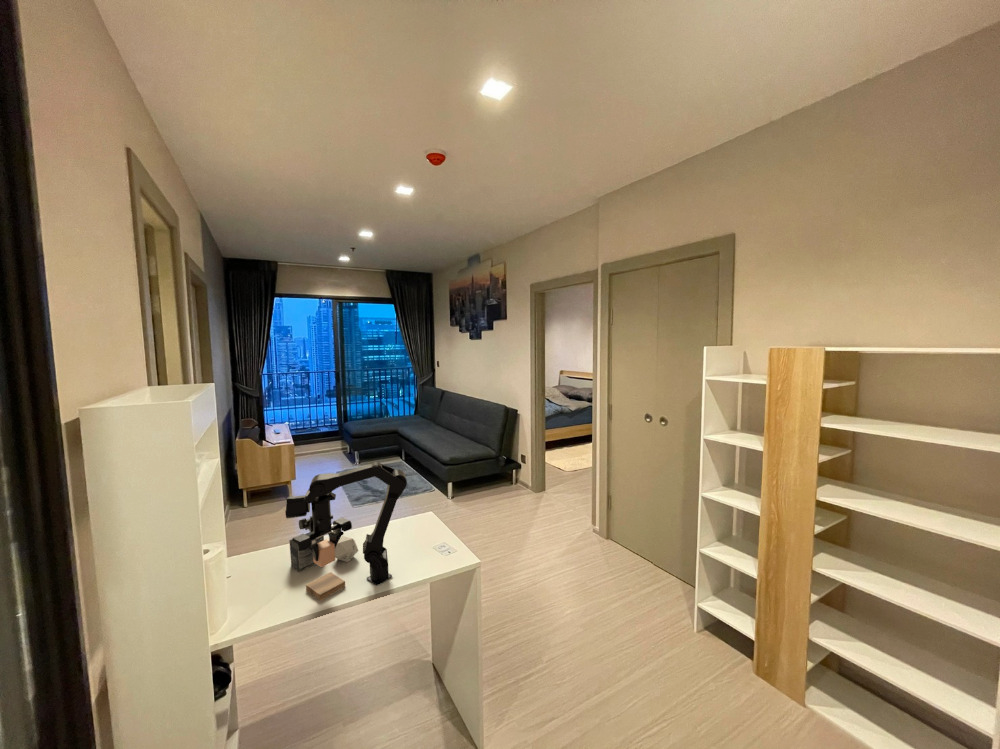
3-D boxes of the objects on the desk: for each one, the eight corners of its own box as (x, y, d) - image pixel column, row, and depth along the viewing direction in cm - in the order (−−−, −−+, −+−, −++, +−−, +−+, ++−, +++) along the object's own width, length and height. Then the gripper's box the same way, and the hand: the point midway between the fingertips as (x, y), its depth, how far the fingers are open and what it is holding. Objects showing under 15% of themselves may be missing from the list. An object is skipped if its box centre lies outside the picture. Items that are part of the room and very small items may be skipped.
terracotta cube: (335, 560, 137) (334, 543, 136) (321, 567, 133) (320, 550, 132) (327, 555, 140) (326, 539, 139) (313, 562, 136) (312, 545, 135)
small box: (317, 553, 159) (316, 528, 158) (326, 559, 155) (324, 533, 154) (290, 565, 151) (288, 539, 150) (298, 572, 147) (296, 545, 146)
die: (335, 569, 149) (351, 548, 149) (323, 551, 154) (338, 531, 153) (351, 566, 157) (366, 546, 157) (339, 549, 161) (354, 529, 161)
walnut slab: (345, 586, 138) (345, 581, 138) (320, 600, 131) (320, 594, 131) (330, 577, 144) (330, 571, 143) (306, 590, 137) (305, 584, 136)
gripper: (333, 497, 147) (336, 538, 149) (281, 517, 132) (284, 561, 134) (351, 505, 140) (353, 547, 142) (298, 526, 125) (301, 573, 127)
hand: (324, 557), depth 136 cm, fingers closed on terracotta cube, 5 cm apart
